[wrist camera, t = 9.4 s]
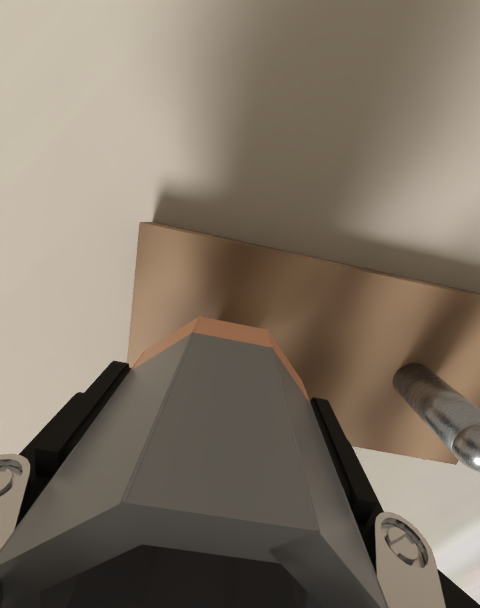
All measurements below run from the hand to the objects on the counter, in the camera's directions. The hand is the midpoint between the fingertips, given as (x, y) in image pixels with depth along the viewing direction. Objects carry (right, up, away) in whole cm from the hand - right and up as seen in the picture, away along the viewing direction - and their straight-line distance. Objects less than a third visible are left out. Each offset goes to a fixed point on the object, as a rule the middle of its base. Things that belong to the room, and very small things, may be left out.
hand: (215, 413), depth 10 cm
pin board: (+6, +1, +8) cm, 10 cm away
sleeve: (0, 0, +1) cm, 1 cm away
